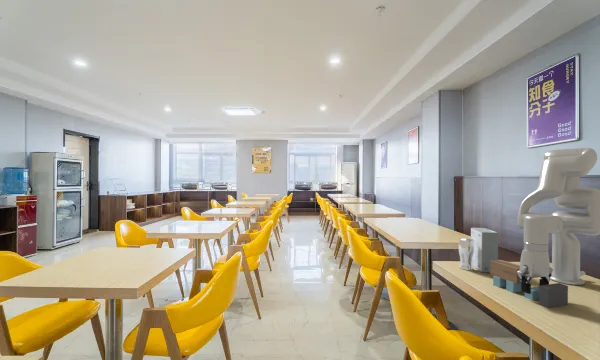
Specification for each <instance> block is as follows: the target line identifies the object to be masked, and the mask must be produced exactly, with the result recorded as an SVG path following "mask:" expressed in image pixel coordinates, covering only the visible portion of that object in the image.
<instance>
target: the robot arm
mask: <svg viewBox="0 0 600 360" xmlns="http://www.w3.org/2000/svg"><path fill="white" fill-rule="evenodd" d="M597 160H598V153H597V152H596V150H595V149H593V148H590V147H581V148H561V149H553V150H548V151H546V152H544V154H543V161H542V162H541V163H542V164H541V166H540V167H541V168H540V172H539V178H538V182H537V185H536V186H537V188H536V189H535V190H533V192H531V193H530V194H528V195H527V196H526V197H525V198H524V199H523V200H522V202H521V203H520V205H519V209H518V213H517V218H516V222H517V226H518V227H519V228H520V229H521V230H523V249H522V251H521V254H520V260H519V261H520V262H519V265H520V270H518V271H517V274H518V276H519V279H520V281H521V291H522V292H521V293H524V294H525V293H527V294H531V287H532V283H531V281H532V279H537V278H539V280H538V281H539V283H538V285H539V286H540V285H548V284H550V282H551V281H554V282H557V283H560V284H564V285H573V286H581V285H585V283H586V282H585V280H584V279H583V278H581V277H583V276H586V272H585V271H583V270H582V271H581V243H580V240H579V239H578V238H577V236H576V234H577V235H578V234H579V235H586V236H599V235H600V189H598V188H596V187H595V188H594V187H581V186H580V178H581V177H585V176H587V175H588V174H589V173H590V171H592V169H593V168H594V167H595V165H597V164H596V163H597V162H598V161H597ZM551 199H554V203H555V205H556V206H557V207H558V208H563V209H573V210H575V209H576V210H585V211H587V212H581V211H580V212H579V211H570V210H567V211H566V210H558V211H557V210H556V211H554V212H553V213H551V214H550V213H538V212H531V210H532V208H533V207H534V206H536V205H537V204H539V203H542V202H545V201H549V200H551ZM549 234H551V238H552V240H551V243H552V244H551V249H552V250H551V264H550V255H549ZM550 265H551V266H550ZM526 277H528V278H527V279H526ZM539 286H538V287H539Z"/></svg>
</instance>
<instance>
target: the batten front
mask: <svg viewBox="0 0 600 360" xmlns="http://www.w3.org/2000/svg"><path fill="white" fill-rule="evenodd" d="M505 288H506V289H505V290H506V291H507V290H508V292H510V293H512V292H513V294H514V293H515V292H516V293H523V292H522V291H521V283H519V284H516V283H513V282H510V281H508V280H506V287H505Z"/></svg>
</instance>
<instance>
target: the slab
mask: <svg viewBox="0 0 600 360" xmlns="http://www.w3.org/2000/svg"><path fill="white" fill-rule="evenodd" d="M518 270H520V264H517V263H514V262H509V261H506V260H503V259H498V260H493V261H490V272H489V274H490V275H491V276H496V277H499V278H502V279H505V280H508V281H510V282H513V283H516V284H519V283H521V281H520V279H519V276H518V274H517V271H518ZM527 278H528V277H526V279H527Z"/></svg>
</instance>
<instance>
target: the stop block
mask: <svg viewBox="0 0 600 360" xmlns="http://www.w3.org/2000/svg"><path fill="white" fill-rule="evenodd" d="M538 287H539V299H538V306H542V307H544V308H547V309H551V308H557V307H563V306H567V305H569V304H568V303H569V301H568V300H569V299H568V298H569V285H568V284H564V283H560V282H557V283H549V284H548V285H540V286H538Z"/></svg>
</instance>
